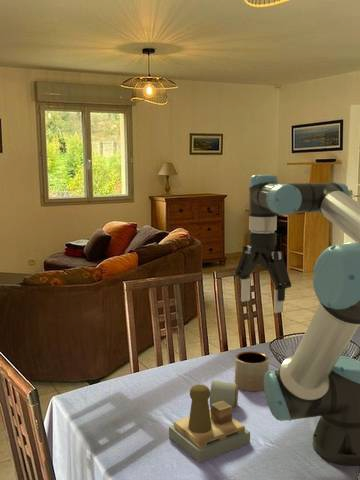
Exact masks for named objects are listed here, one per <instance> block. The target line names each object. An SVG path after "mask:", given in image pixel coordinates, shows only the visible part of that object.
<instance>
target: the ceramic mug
mask: <svg viewBox="0 0 360 480" xmlns="http://www.w3.org/2000/svg"><path fill="white" fill-rule="evenodd" d="M209 390H210V397H209V401H208V404H209V408H211V404H213V403H216V402H220V401H224V402H226V403H228V404H229V405H231V406H232V410H234V409H236V408H237V407H238V401H239V399H238V398H239V388H238V385H236V384H235V383H233V382H226V381H219V380H212V381H211V383H210V388H209Z"/></svg>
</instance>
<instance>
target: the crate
mask: <svg viewBox="0 0 360 480" xmlns="http://www.w3.org/2000/svg"><path fill="white" fill-rule="evenodd" d="M210 410H211V419H212V420H214V421H215V422H216V423H218V424H219V425H221V424H224V423H227V422H230V421H232V418H233V409H232V406H231V405H229V404H228V403H226V402H224V401H220V402H216V403H213V404H211V407H210Z"/></svg>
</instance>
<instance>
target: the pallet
mask: <svg viewBox="0 0 360 480" xmlns="http://www.w3.org/2000/svg"><path fill="white" fill-rule="evenodd" d="M209 411H210V419H211V409H209ZM189 418H190V415H189V416H186V417H183V418H181V419H178V420H174V421H173V425H174V427H175V428H176V429H177V430H178V431H180V432H181V433H182V434H183V435H185V436H186V437H187V438H188V439H190V440H191V441H192V442H193V443H195V444H196V445H197V446H198V447H199V448H202V447H205V446H207V442H210V441H213V440H215V439H218V440H220V441H221V440H223V439H226V435H229V434H232V433H234V432H237V433H238V434H239V433H242V432H245V429H246V426H245V425H244V424H242V423H241V422H239V421H238V420H236V419H234V417H232V421H230V422H227V423H224V424H221V425H219V424H218V423H216V422H215V421H214V420H212V419H211V426H212V428H211V430H210V431H208V432H206V433H194V432H192V431H190V430H189V428H188V425H189Z"/></svg>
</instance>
